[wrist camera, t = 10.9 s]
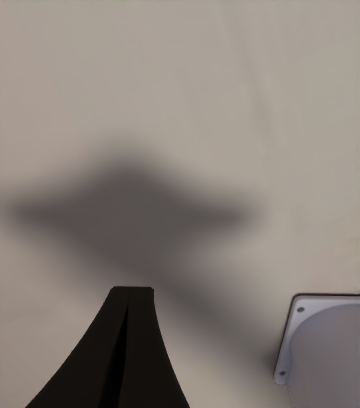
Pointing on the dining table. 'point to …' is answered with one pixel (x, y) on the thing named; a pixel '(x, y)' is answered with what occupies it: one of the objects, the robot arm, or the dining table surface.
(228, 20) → the dining table surface
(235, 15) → the dining table surface
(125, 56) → the dining table surface
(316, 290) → the dining table surface
